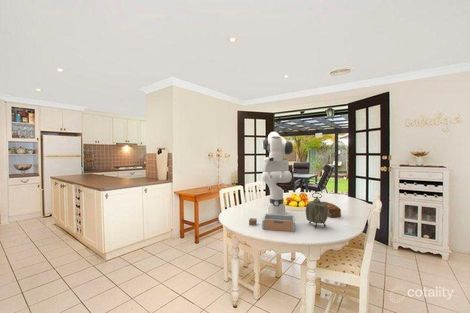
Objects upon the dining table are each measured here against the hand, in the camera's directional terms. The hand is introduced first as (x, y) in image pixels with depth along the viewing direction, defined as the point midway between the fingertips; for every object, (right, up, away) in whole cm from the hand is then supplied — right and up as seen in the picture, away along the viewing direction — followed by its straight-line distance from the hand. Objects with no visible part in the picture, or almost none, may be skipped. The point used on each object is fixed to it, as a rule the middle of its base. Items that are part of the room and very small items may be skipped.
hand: (275, 177), depth 160 cm
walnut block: (-16, -36, +4) cm, 40 cm away
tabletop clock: (+31, -36, +3) cm, 48 cm away
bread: (+53, -36, +33) cm, 72 cm away
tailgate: (0, -35, -9) cm, 36 cm away
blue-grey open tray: (+2, -36, 0) cm, 36 cm away
